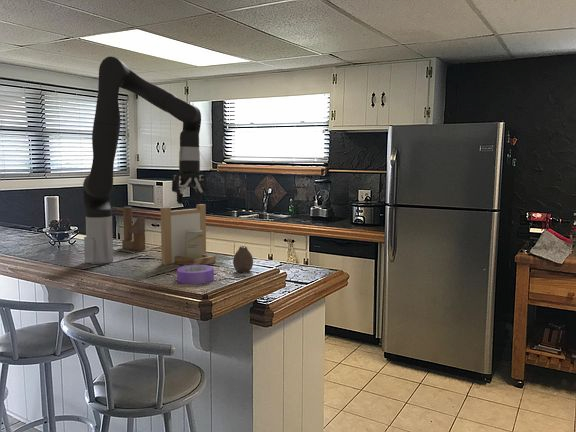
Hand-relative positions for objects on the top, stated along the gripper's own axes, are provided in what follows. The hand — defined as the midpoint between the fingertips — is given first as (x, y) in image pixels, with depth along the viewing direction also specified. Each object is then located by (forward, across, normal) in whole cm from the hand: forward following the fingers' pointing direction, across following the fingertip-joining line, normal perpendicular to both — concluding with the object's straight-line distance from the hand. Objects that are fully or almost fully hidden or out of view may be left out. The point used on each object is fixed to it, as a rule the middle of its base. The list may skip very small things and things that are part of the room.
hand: (189, 203), depth 185 cm
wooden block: (+23, -2, -40) cm, 46 cm away
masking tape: (+23, +16, +23) cm, 36 cm away
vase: (+22, -2, +26) cm, 35 cm away
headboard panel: (+22, -1, -4) cm, 23 cm away
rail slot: (+22, -1, +2) cm, 22 cm away
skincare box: (+22, -1, +2) cm, 23 cm away
